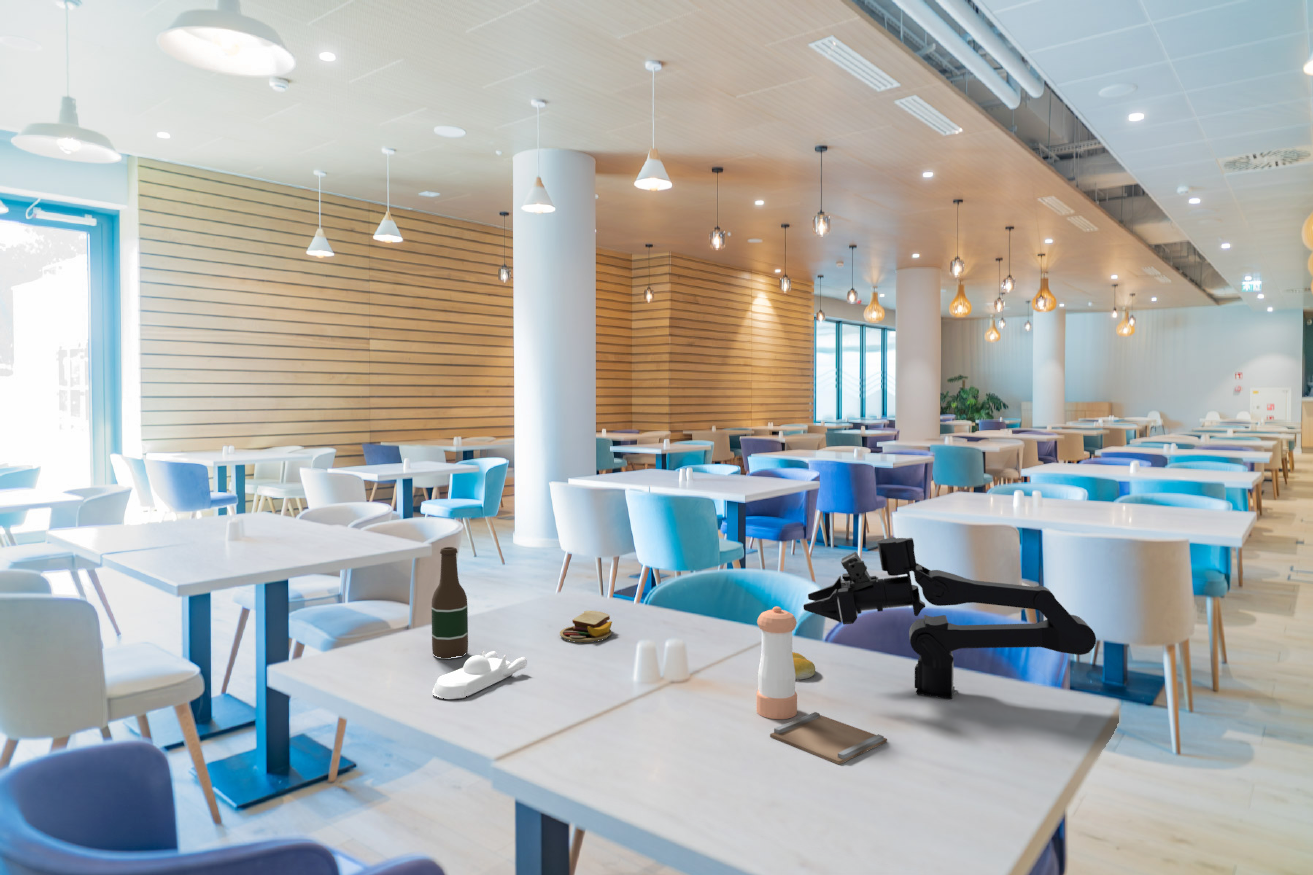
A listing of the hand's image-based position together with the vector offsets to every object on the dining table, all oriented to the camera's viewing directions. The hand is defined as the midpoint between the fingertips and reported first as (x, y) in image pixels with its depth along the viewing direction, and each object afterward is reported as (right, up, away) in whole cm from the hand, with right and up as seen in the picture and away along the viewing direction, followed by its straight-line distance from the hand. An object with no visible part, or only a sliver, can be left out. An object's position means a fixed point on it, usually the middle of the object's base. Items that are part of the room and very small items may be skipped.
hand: (806, 601), depth 164 cm
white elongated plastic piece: (-66, -17, 0) cm, 68 cm away
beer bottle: (-76, -16, +19) cm, 80 cm away
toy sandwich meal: (-47, -15, +34) cm, 60 cm away
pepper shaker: (-8, -17, -16) cm, 25 cm away
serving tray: (-1, -17, -28) cm, 33 cm away
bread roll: (-2, -16, +6) cm, 17 cm away
